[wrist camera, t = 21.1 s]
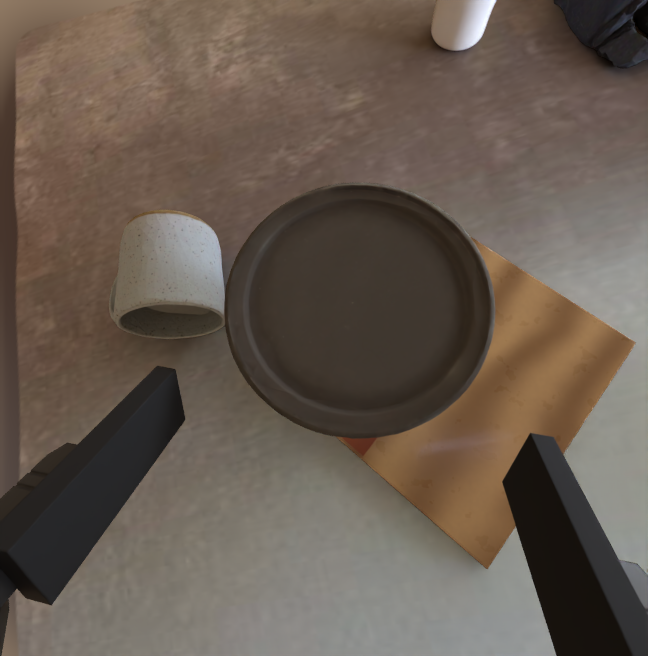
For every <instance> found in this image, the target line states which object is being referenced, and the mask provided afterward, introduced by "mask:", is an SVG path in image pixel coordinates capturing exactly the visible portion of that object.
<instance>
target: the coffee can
mask: <svg viewBox="0 0 648 656" xmlns="http://www.w3.org/2000/svg"><path fill="white" fill-rule="evenodd" d="M224 316H225V327H226V333H227V338H228V342H229V346H230V349H231V352H232V355H233V358H234V360H235V362H236V364H237V366H238V368H239V370H240V371H241V373H242V375H243V376H244V378H245V380H246V381H247V382H248V384H249V385H250V386H251V387H252V389H253V390H254V391H255V392H256V393H257V395H259V396H260V397H261V398H262V399H263V400H264V401H265V402H266V403H267V404H268V405H269V406H271V407H272V408H273V409H274V410H275V411H277V412H278V413H279V414H281V415H282V416H284V417H286V418H287V419H289V420H290V421H292V422H294V423H296V424H298V425H300V426H302V427H304V428H307V429H310V430H312V431H315V432H318V433H322V434H325V435H330V436H336V437H345V438H351V439H365V438H378V437H384V436H389V435H395V434H399V433H402V432H405V431H408V430H411V429H413V428H415V427H417V426H420V425H422V424H424V423H426V422H428V421H430V420H432V419H433V418H435V417H436V416H438V415H439V414H441V413H442V412H444V411H445V410H446V409H447V408H448V407H450V406H451V405H452V404H453V403H454V402H455V401H457V400H458V399H459V398H460V397H461V395H462V394H463V393H464V392H465V391H466V390H467V389H468V388H469V386H470V385H471V384H472V382H473V381H474V379H475V378H476V376H477V374H478V373H479V371H480V370H481V368H482V365H483V363H484V361H485V359H486V356H487V353H488V350H489V348H490V345H491V341H492V337H493V332H494V326H495V299H494V291H493V285H492V281H491V278H490V274H489V271H488V269H487V266H486V264H485V261H484V259H483V257H482V255H481V253H480V252H479V250H478V248H477V246H476V244H475V243H474V242H473V240H472V239H471V237H470V236H469V235H468V233H467V232H466V231H465V230H464V229H463V228H462V227H461V226H460V224H459V223H458V222H457V221H456V220H455V219H453V218H452V217H451V216H450V215H448V214H447V213H446V212H445V211H444V210H442V209H441V208H439V207H438V206H436V205H435V204H434V203H432V202H430V201H428V200H427V199H425V198H423V197H421V196H418V195H416V194H414V193H411V192H409V191H406V190H403V189H400V188H396V187H393V186H388V185H383V184H375V183H340V184H334V185H329V186H325V187H321V188H318V189H315V190H312V191H309V192H306V193H304V194H302V195H300V196H298V197H296V198H293V199H292V200H290V201H288V202H286V203H285V204H283V205H281V206H280V207H279V208H278V209H276V210H275V211H274V212H272V213H271V214H270V215H269V216H268V217H267V218H265V219H264V220H263V221H262V222H261V223H260V224H259V225H258V226H257V228H256V229H255V230H254V231H253V232H252V233H251V235H250V236H249V238H248V239H247V240H246V242H245V243H244V245H243V246H242V248H241V250H240V251H239V253H238V255H237V257H236V259H235V261H234V264H233V266H232V269H231V271H230V275H229V278H228V282H227V286H226V292H225V301H224Z"/></svg>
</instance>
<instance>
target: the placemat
mask: <svg viewBox="0 0 648 656" xmlns="http://www.w3.org/2000/svg"><path fill="white" fill-rule="evenodd" d="M471 239H472V240H473V242H474V243H475V244H476V246H477V248H478V250H479V252H480V253H481V255H482V257H483V259H484V261H485V264H486V266H487V269H488V271H489V274H490V278H491V281H492V285H493V291H494V299H495V326H494V332H493V337H492V341H491V345H490V348H489V350H488V353H487V356H486V359H485V361H484V363H483V365H482V368H481V370H480V371H479V373H478V374H477V376H476V378H475V379H474V381H473V382H472V384H471V385H470V386H469V388H468V389H467V390H466V391H465V392H464V393H463V394H462V395H461V397H460V398H459V399H458V400H457V401H455V402H454V403H453V404H452V405H451V406H450V407H448V408H447V409H446V410H445V411H444V412H442V413H441V414H439V415H438V416H436V417H435V418H433V419H432V420H430V421H428V422H426V423H424V424H422V425H420V426H417V427H415V428H413V429H411V430H408V431H405V432H402V433H399V434H395V435H389V436H384V437H378V438H365V439H351V438H345V437H337V438H338V439H339V440H340V441H341V442H342V443H343V444H345V445H346V446H347V447H348V448H349V449H350V450H351V451H353V452H354V453H355V454H356V455H357V456H358V457H359V458H361V459H362V460H363V461H364V462H365V463H366V464H367V465H369V466H370V467H371V468H372V469H373V470H374V471H375V472H377V473H378V474H379V475H380V476H381V477H382V478H383V479H385V480H386V481H387V482H388V483H389V484H390V485H391V486H393V487H394V488H395V489H396V490H397V491H398V492H399V493H400V494H402V495H403V496H404V497H405V498H406V499H407V500H408V501H410V502H411V503H412V504H413V505H414V506H415V507H416V508H418V509H419V510H420V511H421V512H422V513H423V514H424V515H426V516H427V517H428V518H429V519H430V520H431V521H432V522H434V523H435V524H436V525H437V526H438V527H439V528H440V529H442V530H443V531H444V532H445V533H446V534H447V535H448V536H450V537H451V538H452V539H453V540H454V541H455V542H456V543H457V544H459V545H460V546H461V547H462V548H463V549H464V550H465V551H467V552H468V553H469V554H470V555H471V556H472V557H473V558H475V559H476V560H477V561H478V562H479V563H480V564H481V565H483V566H484V567H485V568H486V569H488V567H489V566H490V564H491V563H492V561H493V560H494V558H495V557H496V555H497V554H498V552H499V551H500V549H501V548H502V546H503V545H504V543H505V542H506V540H507V539H508V537H509V535H510V534H511V532H512V531H513V529H514V528H515V526H516V525H515V522H514V518H513V515H512V512H511V509H510V506H509V502H508V499H507V496H506V493H505V490H504V487H503V483H502V481H503V479H504V477H505V476H506V474H507V472H508V470H509V469H510V467H511V465H512V463H513V462H514V460H515V458H516V456H517V455H518V453H519V451H520V450H521V448H522V446H523V444H524V443H525V441H526V439H527V437H528V436H529V434H530V433H534V434H540V435H545V436H551V437H554V439H555V440H556V442H557V444H558V446H559V448H560V450H561V452H562V454H563V453H564V452H565V450H566V449H567V447H568V446H569V444H570V443H571V441H572V440H573V438H574V437H575V435H576V434H577V432H578V431H579V429H580V428H581V426H582V425H583V423H584V421H585V420H586V418H587V417H588V415H589V414H590V412H591V411H592V409H593V408H594V406H595V405H596V403H597V402H598V400H599V399H600V397H601V396H602V394H603V393H604V391H605V390H606V388H607V387H608V385H609V383H610V382H611V380H612V379H613V377H614V376H615V374H616V373H617V371H618V370H619V368H620V367H621V365H622V364H623V362H624V361H625V359H626V358H627V356H628V355H629V353H630V352H631V350H632V348H633V347H634V345H635V344H636V342H634V341H633V340H631V339H629V338H628V337H626V336H625V335H623V334H622V333H620V332H618V331H617V330H615V329H614V328H612V327H611V326H609V325H608V324H606V323H604V322H603V321H601V320H600V319H598V318H597V317H595V316H593V315H592V314H590V313H589V312H587V311H586V310H584V309H583V308H581V307H579V306H578V305H576V304H575V303H573V302H572V301H570V300H568V299H567V298H565V297H564V296H562V295H561V294H559V293H558V292H556V291H554V290H553V289H551V288H550V287H548V286H547V285H545V284H543V283H542V282H540V281H539V280H537V279H536V278H534V277H533V276H531V275H529V274H528V273H526V272H525V271H523V270H522V269H520V268H518V267H517V266H515V265H514V264H512V263H511V262H509V261H508V260H506V259H504V258H503V257H501V256H500V255H498V254H497V253H495V252H493V251H492V250H490V249H489V248H487V247H486V246H484V245H483V244H481V243H479V242H478V241H476V240H475V239H473V238H472V237H471ZM335 437H336V436H335Z"/></svg>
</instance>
